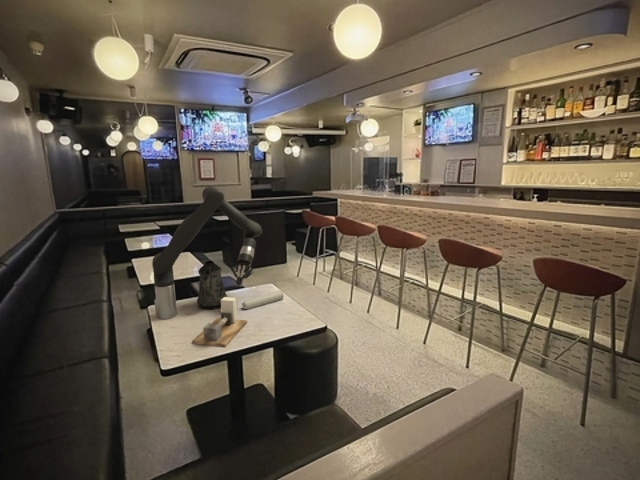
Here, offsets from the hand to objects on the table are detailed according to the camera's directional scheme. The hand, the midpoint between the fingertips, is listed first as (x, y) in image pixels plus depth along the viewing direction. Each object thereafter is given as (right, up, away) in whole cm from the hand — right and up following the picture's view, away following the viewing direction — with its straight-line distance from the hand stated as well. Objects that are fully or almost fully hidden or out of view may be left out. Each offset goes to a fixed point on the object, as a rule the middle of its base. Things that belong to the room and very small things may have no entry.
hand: (238, 284), depth 185 cm
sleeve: (-2, -16, -9) cm, 19 cm away
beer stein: (-17, -13, +14) cm, 26 cm away
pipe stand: (-4, -20, -18) cm, 27 cm away
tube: (+10, -13, +16) cm, 23 cm away
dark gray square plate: (-3, -17, -12) cm, 21 cm away
